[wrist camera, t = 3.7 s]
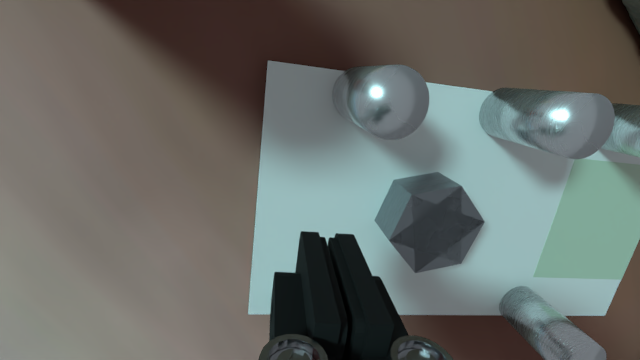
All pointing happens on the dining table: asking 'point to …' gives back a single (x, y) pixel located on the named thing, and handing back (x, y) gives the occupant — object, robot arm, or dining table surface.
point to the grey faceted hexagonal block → (429, 221)
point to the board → (463, 168)
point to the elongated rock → (633, 11)
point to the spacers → (512, 125)
